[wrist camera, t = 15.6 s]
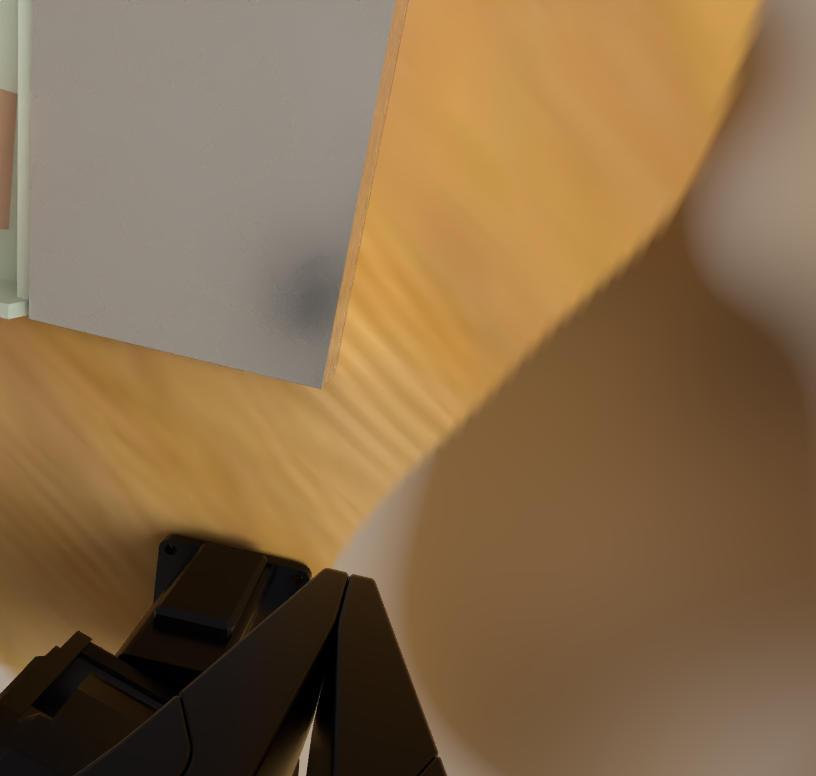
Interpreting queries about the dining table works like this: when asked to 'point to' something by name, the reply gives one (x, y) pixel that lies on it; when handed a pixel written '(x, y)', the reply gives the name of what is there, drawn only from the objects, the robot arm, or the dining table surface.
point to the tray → (17, 156)
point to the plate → (207, 172)
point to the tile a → (6, 152)
